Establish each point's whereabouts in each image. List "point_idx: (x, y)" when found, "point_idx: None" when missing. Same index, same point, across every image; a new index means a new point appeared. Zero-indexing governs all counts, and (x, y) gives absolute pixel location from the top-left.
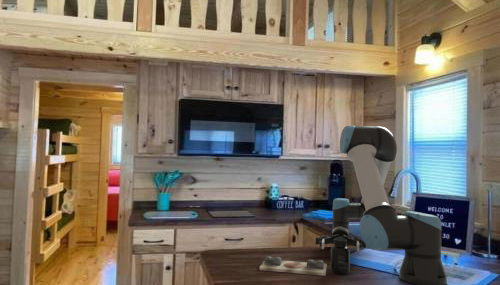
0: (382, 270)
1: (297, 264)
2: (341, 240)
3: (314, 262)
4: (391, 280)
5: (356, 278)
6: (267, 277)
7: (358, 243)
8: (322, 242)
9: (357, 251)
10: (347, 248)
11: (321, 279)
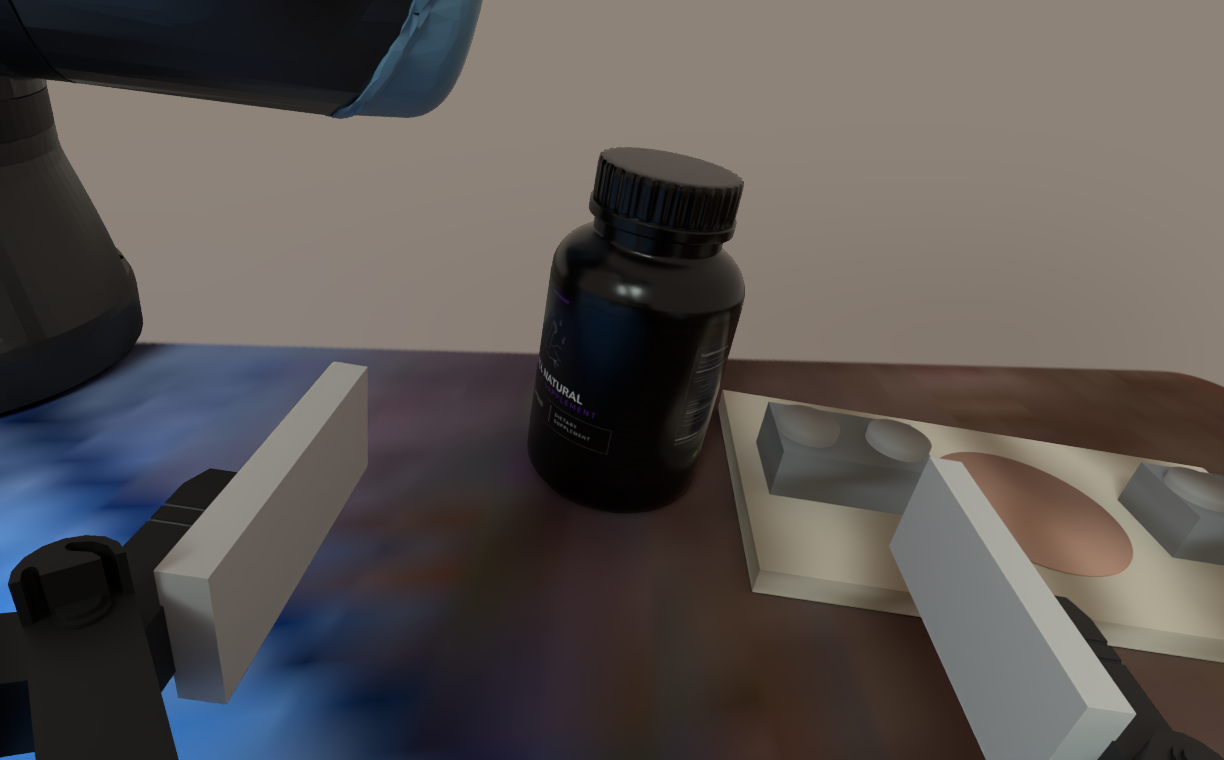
0: (97, 522)
1: (1016, 526)
2: (657, 150)
3: (852, 427)
4: (235, 345)
5: (498, 374)
6: (1027, 392)
7: (298, 419)
8: (948, 461)
9: (365, 461)
10: (583, 225)
11: (731, 368)
